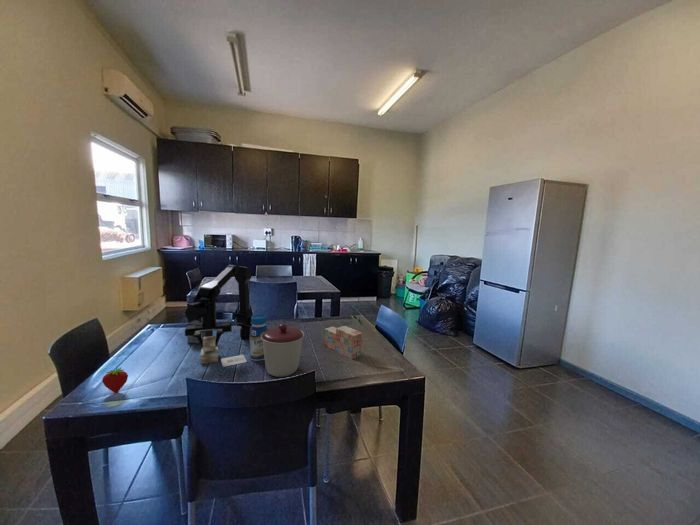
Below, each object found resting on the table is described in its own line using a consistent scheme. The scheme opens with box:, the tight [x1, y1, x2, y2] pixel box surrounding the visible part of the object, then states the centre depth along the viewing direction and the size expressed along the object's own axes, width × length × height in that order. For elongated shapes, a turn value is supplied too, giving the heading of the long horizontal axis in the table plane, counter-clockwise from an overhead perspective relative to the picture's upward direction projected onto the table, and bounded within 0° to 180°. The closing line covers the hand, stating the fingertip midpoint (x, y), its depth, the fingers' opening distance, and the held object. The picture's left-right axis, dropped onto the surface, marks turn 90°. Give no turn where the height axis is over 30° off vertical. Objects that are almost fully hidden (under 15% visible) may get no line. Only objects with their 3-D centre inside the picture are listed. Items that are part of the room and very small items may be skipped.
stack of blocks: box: [323, 325, 363, 360], centre depth 147 cm, size 21×6×12 cm, turn 45°
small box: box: [186, 320, 214, 345], centre depth 149 cm, size 11×6×10 cm, turn 84°
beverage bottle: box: [248, 313, 269, 362], centre depth 135 cm, size 8×8×20 cm
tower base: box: [200, 346, 219, 365], centre depth 132 cm, size 7×7×4 cm
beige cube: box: [202, 335, 217, 352], centre depth 131 cm, size 5×5×5 cm
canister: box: [261, 323, 305, 378], centre depth 124 cm, size 18×18×21 cm
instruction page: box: [220, 354, 248, 368], centre depth 132 cm, size 10×8×1 cm
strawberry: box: [101, 364, 129, 394], centre depth 104 cm, size 6×8×10 cm
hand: (209, 346), depth 131 cm, fingers closed on beige cube, 5 cm apart
